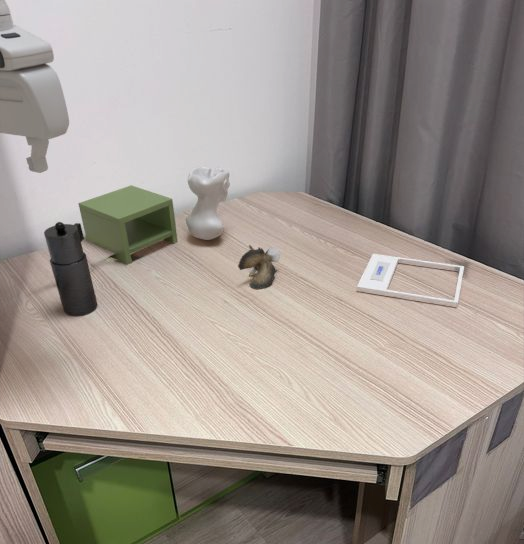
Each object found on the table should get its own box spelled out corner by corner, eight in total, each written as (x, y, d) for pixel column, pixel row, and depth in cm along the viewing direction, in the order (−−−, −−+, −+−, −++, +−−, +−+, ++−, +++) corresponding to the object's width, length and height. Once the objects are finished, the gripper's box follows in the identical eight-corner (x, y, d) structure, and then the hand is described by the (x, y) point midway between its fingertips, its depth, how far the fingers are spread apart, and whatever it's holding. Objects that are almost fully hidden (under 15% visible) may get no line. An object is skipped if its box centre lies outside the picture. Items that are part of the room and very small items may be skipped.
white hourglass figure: (180, 240, 121) (172, 173, 112) (212, 223, 128) (207, 159, 119) (212, 250, 116) (206, 181, 107) (244, 232, 123) (241, 167, 115)
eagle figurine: (238, 260, 109) (228, 273, 101) (257, 232, 106) (249, 243, 98) (269, 282, 110) (262, 296, 102) (288, 254, 107) (283, 267, 99)
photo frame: (373, 252, 111) (464, 265, 105) (372, 257, 112) (463, 270, 106) (357, 285, 100) (458, 301, 94) (356, 290, 101) (456, 307, 95)
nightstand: (88, 246, 119) (78, 203, 113) (138, 226, 128) (131, 185, 122) (127, 264, 112) (118, 219, 106) (177, 242, 120) (172, 198, 114)
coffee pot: (90, 316, 96) (69, 230, 86) (58, 315, 96) (33, 229, 86) (108, 290, 103) (90, 207, 94) (78, 289, 104) (57, 207, 94)
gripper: (-106, 45, 64) (-62, 163, 72) (19, 53, 56) (52, 184, 64) (-59, 39, 68) (-23, 151, 76) (62, 45, 60) (88, 169, 69)
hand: (12, 166), depth 70 cm, fingers open, 8 cm apart
